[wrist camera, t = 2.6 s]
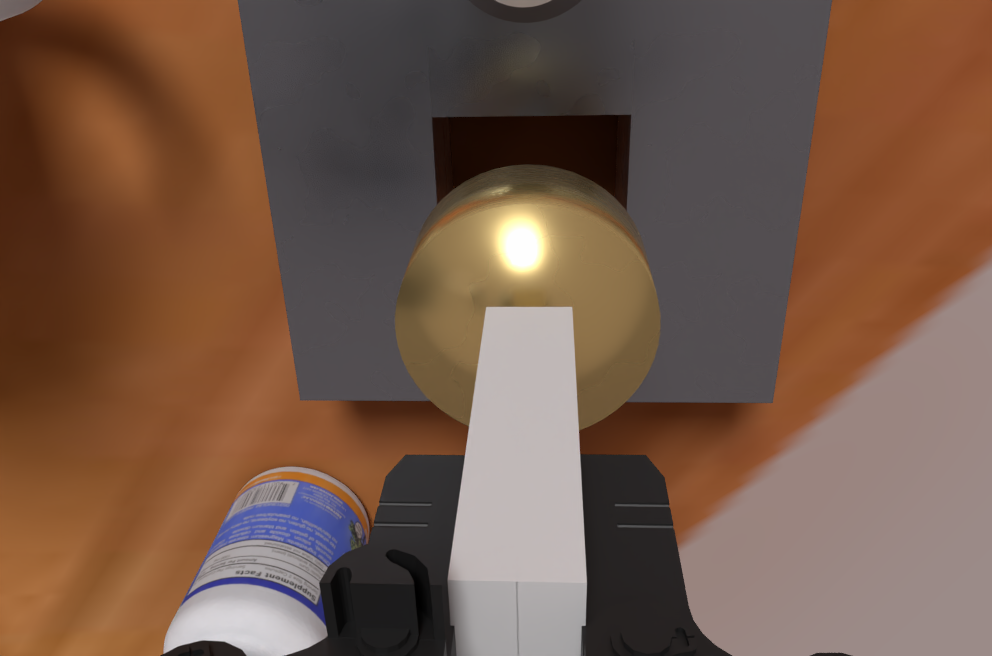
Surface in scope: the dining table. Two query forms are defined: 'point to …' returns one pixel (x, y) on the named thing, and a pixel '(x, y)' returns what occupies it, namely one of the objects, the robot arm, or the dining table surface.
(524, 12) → the pot post
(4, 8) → the mug
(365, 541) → the pill bottle
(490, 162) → the dining table surface
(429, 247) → the knob
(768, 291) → the mount plate
